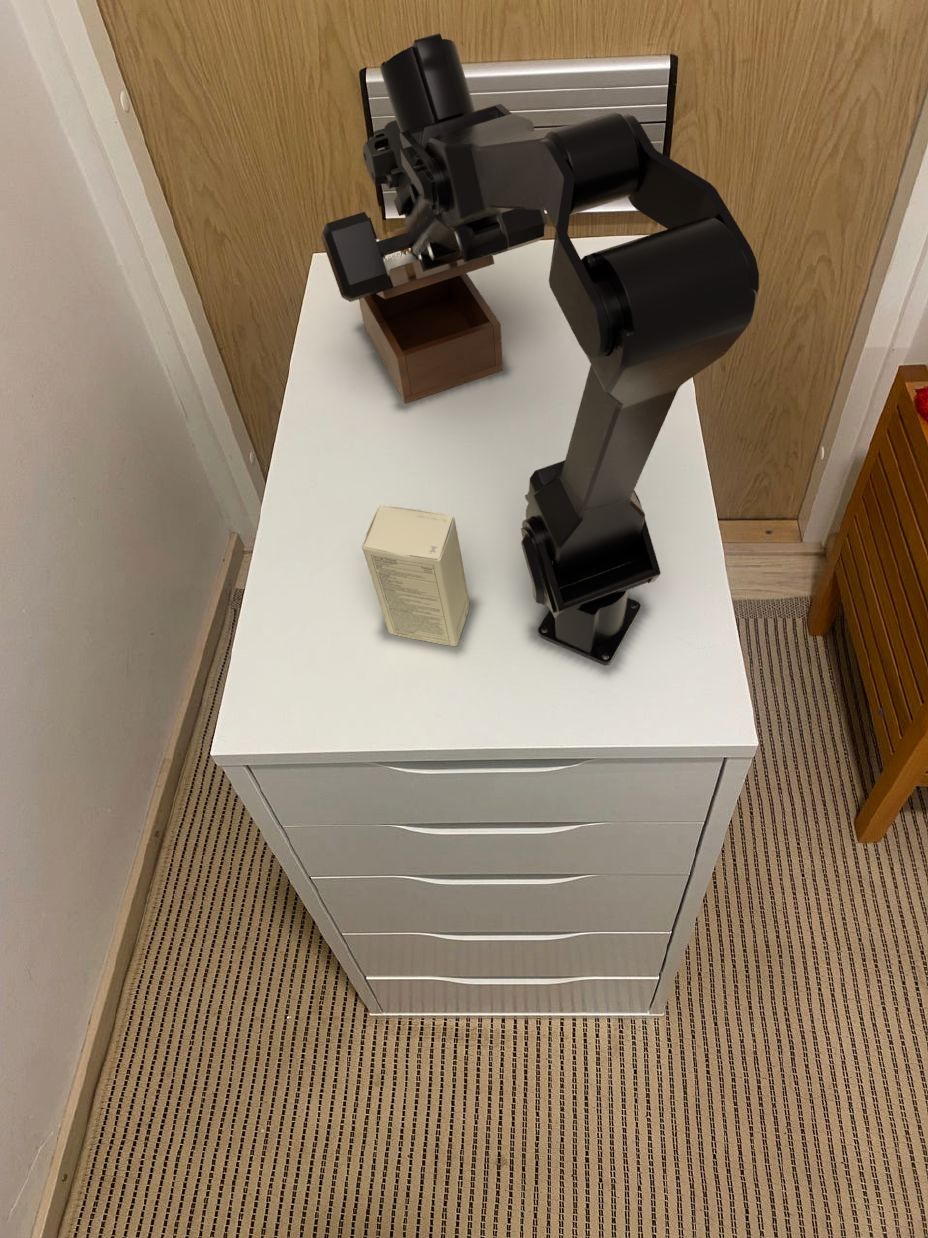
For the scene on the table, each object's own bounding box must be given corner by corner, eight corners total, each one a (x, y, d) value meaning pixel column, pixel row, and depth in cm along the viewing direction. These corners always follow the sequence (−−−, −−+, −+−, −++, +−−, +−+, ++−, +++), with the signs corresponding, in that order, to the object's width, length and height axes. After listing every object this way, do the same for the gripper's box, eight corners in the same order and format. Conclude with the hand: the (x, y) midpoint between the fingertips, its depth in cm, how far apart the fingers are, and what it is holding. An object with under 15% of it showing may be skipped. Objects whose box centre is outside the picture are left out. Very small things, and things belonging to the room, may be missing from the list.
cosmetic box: (470, 606, 80) (459, 514, 70) (456, 650, 78) (442, 561, 67) (400, 592, 81) (379, 500, 71) (384, 635, 79) (359, 546, 69)
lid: (494, 263, 86) (482, 205, 83) (385, 299, 84) (368, 241, 82) (452, 251, 97) (440, 199, 95) (355, 282, 95) (340, 230, 93)
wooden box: (503, 370, 95) (500, 323, 90) (405, 403, 94) (397, 358, 89) (456, 297, 102) (452, 250, 97) (364, 328, 100) (355, 281, 96)
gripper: (531, 68, 73) (484, 137, 88) (302, 135, 70) (293, 194, 85) (574, 214, 75) (521, 257, 91) (353, 285, 73) (336, 317, 88)
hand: (419, 254), depth 88 cm, fingers open, 8 cm apart
